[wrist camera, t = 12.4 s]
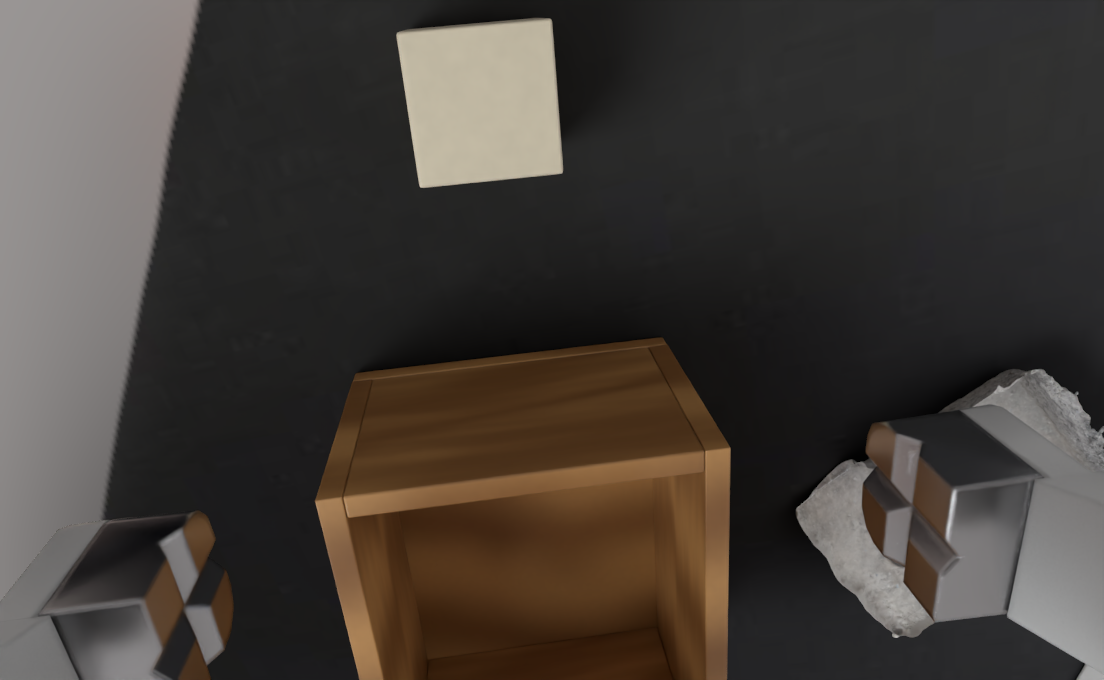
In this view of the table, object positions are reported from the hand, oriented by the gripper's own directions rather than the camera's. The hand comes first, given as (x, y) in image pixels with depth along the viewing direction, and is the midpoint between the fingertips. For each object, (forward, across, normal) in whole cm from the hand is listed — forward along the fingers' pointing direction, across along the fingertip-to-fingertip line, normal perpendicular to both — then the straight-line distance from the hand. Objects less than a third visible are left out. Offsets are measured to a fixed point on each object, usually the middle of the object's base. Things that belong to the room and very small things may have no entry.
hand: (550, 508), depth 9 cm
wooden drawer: (+20, 0, +15) cm, 25 cm away
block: (+20, 0, -3) cm, 21 cm away
